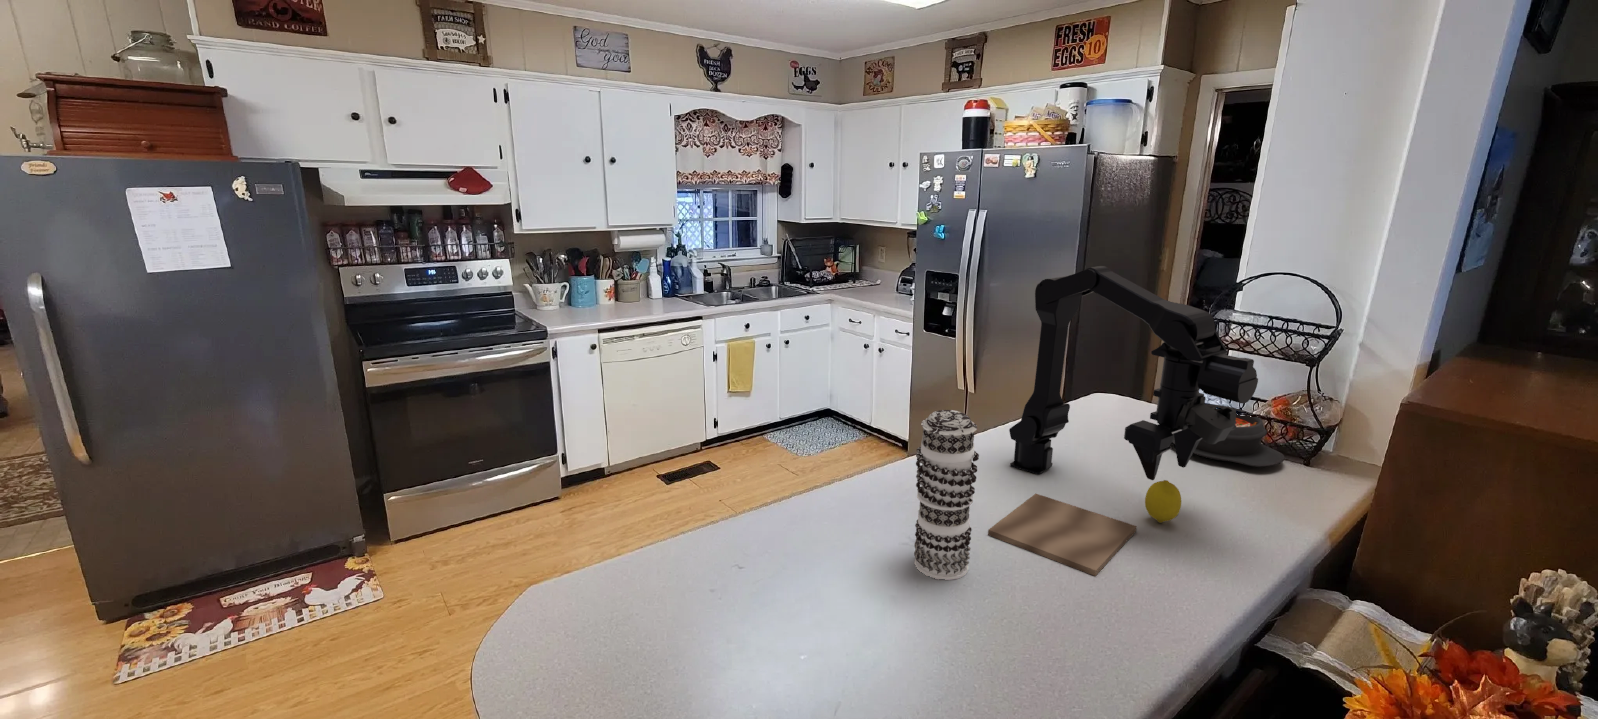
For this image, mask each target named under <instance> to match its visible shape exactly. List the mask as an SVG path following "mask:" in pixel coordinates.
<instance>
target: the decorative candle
mask: <svg viewBox="0 0 1598 719" xmlns="http://www.w3.org/2000/svg"><path fill="white" fill-rule="evenodd" d="M920 425H921V427H922V438H921V444H920V446H919V447H917V448H916V453H915V456H916V461H915V466H916V467H917V470H916V476H915V478H916V479H917V480H916V484H915V487H916V488H917V495H916V497H917V499H918V501H919V509H918V511H917V512H918V515H917V520H916V522H915V529H916V530H915V531H916V532H915V534H914V536H915V538H916V539H915V541H914V543H913V544H914V546H913V547H914V549H915V550H914V553H913V555H914V564H915V565H916V566H915V565H914V566H915V568H916V567H917V568H916V569H918V570H919V571H920V573H921V572H922V573H924V574H925V575H926V577H928V576H931V577H933V578H932V579H934V578H935V580H939V579H945V580H944V581H952V580H958V579H960V578H962V577H965V575H967V573H968V572H969V571H970V570H969V564H970V562H969V560H970V559H971V557H970V552H969V551H971V547H970V546H969V545H970V544H971V540H972V537H971V534H972V533H971V532H972V530H973V529H972V527H971V525H970V523H971V516H970V506H971V504H972V503H973V502H974V497H973V496H974V494H975V493H976V492H975V490H976V489H975V487H974V486H973V483H976V482H977V476H976V475H975V473H977V472H978V465H976V464H975V463H974V462H976V461H978V460H980V454H979V453H978V452H977V451H976V450H975V443H974V441H975V440H974V439H975V432H976V431H977V430H978V425H977V424H976V423H975V422H973V421H972V420H971V418H970V417H969V415H967V414H966V413H963V412H961V411H958V410H953V409H951V410H950V409H941V410H935V411H933V412H932V413H930V414H929V416H927V417H926V418H925V419H923V420H922V421H921V424H920ZM972 461H973V462H972ZM921 464H922V465H921ZM918 570H917V571H918ZM919 571H918V572H919ZM922 573H921V574H922ZM924 574H923V575H924ZM925 575H924V576H925ZM931 577H930V578H931Z"/></svg>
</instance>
